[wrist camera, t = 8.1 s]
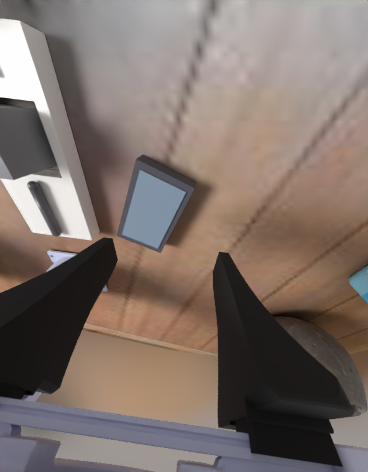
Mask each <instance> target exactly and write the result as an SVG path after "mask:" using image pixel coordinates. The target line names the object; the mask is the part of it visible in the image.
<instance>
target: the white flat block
mask: <svg viewBox="0 0 368 472" xmlns="http://www.w3.org/2000/svg"><path fill="white" fill-rule="evenodd" d="M0 97H4V98H12V99H20V100H28V101H34V102H35V105H36V108H37V111H38V113H39V116H40V119H41V121H42V124H43V127H44V130H45V132H46V135H47V138H48V141H49V143H50V146H51V149H52V152H53V154H54V157H55V160H56V163H57V165H58V168H59V171H57V170H50V169H45V170H42V171H39V172H36V173H33V174H30V175H27V176H25V177H22V178H19V179H16V180H9V179H1V178H0V179H1V180H2V182H3V184H4V185H5V187H6V189H7V190H8V192H9V194H10V195H11V197H12V199H13V200H14V202H15V204H16V205H17V207H18V209H19V210H20V212H21V214H22V215H23V217H24V219H25V220H26V222H27V224H28V225H29V227H30V229H31V230H32V232H34V233H41V234H49V235H53V236H64V237H71V238H79V239H86V240H93V239H94V237H95V236H96V235H97V234H98V233H99V232H100V231H99V227H98V224H97V220H96V217H95V213H94V209H93V206H92V202H91V199H90V195H89V192H88V188H87V184H86V181H85V177H84V174H83V170H82V166H81V163H80V159H79V156H78V152H77V149H76V145H75V141H74V138H73V134H72V131H71V127H70V124H69V120H68V116H67V113H66V109H65V106H64V102H63V98H62V95H61V91H60V88H59V84H58V81H57V77H56V73H55V70H54V66H53V63H52V59H51V56H50V52H49V48H48V45H47V41H46V38H45V34H44V33H42V32H40V31H38V30H36V29H34V28H32V27H31V26H29V25H27V24H25V23H23V22H21V21H18V20H10V19H2V18H0Z"/></svg>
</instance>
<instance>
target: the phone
mask: <svg viewBox="0 0 368 472" xmlns="http://www.w3.org/2000/svg"><path fill="white" fill-rule="evenodd" d="M194 189H195V181H193V180H191V179H189V178H187V177H185V176H183V175H181V174H179V173H177V172H175V171H174V170H172V169H170V168H168V167H166V166H164V165H162V164H160V163H158V162H156V161H154V160H152V159H150V158H148V157H146V156H144V155H142V156H140V157H139V158H137V159H136V162H135V166H134V170H133V174H132V178H131V182H130V186H129V190H128V194H127V197H126V201H125V205H124V209H123V213H122V217H121V221H120V225H119V229H118V233H117V236H119V237H121V238H124V239H126V240H129V241H131V242H134V243H136V244H139V245H142V246H144V247H147V248H149V249H152V250H154V251H157V252H159V253H161V251H162V249H163V247H164V246H165V244H166V242H167V240H168V238H169V236H170V234H171V232H172V230H173V228H174V227H175V225H176V223H177V221H178V219H179V217H180V215H181V213H182V211H183V210H184V208H185V206H186V204H187V202H188V200H189V198H190V196H191V194H192V193H193V191H194Z"/></svg>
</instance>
